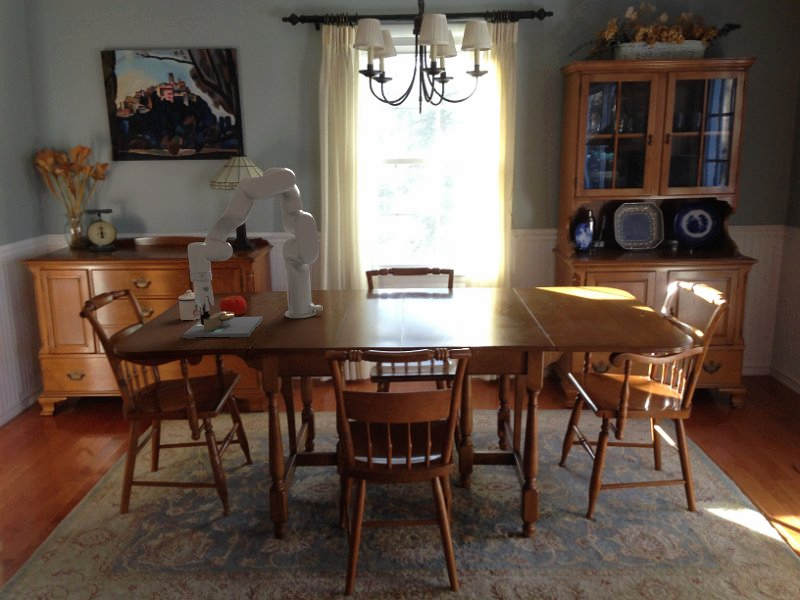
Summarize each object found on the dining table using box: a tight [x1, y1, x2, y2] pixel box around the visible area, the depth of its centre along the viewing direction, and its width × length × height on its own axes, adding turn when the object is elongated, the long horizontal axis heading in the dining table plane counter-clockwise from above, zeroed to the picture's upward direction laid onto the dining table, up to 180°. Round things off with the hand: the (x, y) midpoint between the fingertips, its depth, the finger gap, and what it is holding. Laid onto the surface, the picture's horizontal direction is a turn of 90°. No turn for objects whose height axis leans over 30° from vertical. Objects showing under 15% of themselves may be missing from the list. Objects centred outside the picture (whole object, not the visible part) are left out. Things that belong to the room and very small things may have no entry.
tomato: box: [219, 295, 248, 317], centre depth 278 cm, size 11×11×8 cm
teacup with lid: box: [177, 289, 201, 321], centre depth 275 cm, size 12×9×12 cm
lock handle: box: [204, 311, 235, 330], centre depth 253 cm, size 14×8×4 cm, turn 159°
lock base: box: [182, 316, 264, 339], centre depth 257 cm, size 24×24×4 cm
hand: (205, 324), depth 252 cm, fingers closed
